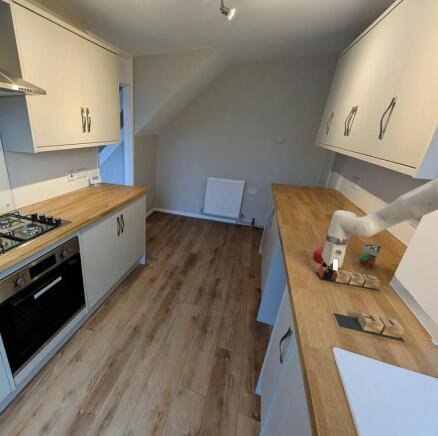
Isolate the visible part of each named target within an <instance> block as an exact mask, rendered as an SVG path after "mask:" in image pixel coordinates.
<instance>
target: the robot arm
mask: <svg viewBox="0 0 438 436" xmlns="http://www.w3.org/2000/svg"><path fill="white" fill-rule="evenodd" d="M435 211H438V176H437V177H436V178H434V179H432V180H430V181H428V182H426V183H424V184H422V185H420V186H418V187H416V188H414V189H412V190H410V191H408V192H406V193H404V194H402V195H399V196H398V197H397V198H396V199H395V200H394V201H392V202H390V203H389V204H387V205H385V206H383V207H381V208H378V209H377V210H375V211H372V212H371V213H368V214H366V215H363V216H357V214H356V213H355V212H352V211H349V210H344V209H339V210H335V211H334V212H333V214H332V217H331V220H330V224H329V227H328V230H327V233H326V237H325V243H324V245H323V246H324V247H323V248H324V249H323V253H322V258H323V261H322V264H320V266H324V267H327V268H326V271H325V272H324V275H323V279H326V280H332V277H333V274H334V273H335V271H337V270H338V269H341V268H342V266H343V263H344V259H345V255H346V249H347V246H348V245H349V241H350V239H351V236H352V235H354V236H356V237H360V238H371V237H373V236H374V235H377V234H379V233H381V232H383V231H384V230H386V229H389V228H391V227H394V226H396V225H399V224H400V223H403V222H405V221H408V220H411V219H418V218H421V217H423V216H426V215H429V214H431V213H433V212H435ZM330 264H333V265H330ZM329 267H330V269H329Z"/></svg>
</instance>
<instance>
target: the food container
mask: <svg viewBox="0 0 438 436" xmlns="http://www.w3.org/2000/svg"><path fill="white" fill-rule="evenodd" d="M382 246H383V245H382V244H378V243H368V242H367V243H365V244H363V245H362V247H361V250H362V252H361V256H360V261H359V264H360V265H362V266H363V267H365V268H367V269H370V270H372V269H373V267H374V266H375V263H376V261H377V258H378V256H379V253H380V251H381V249H382Z"/></svg>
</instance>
